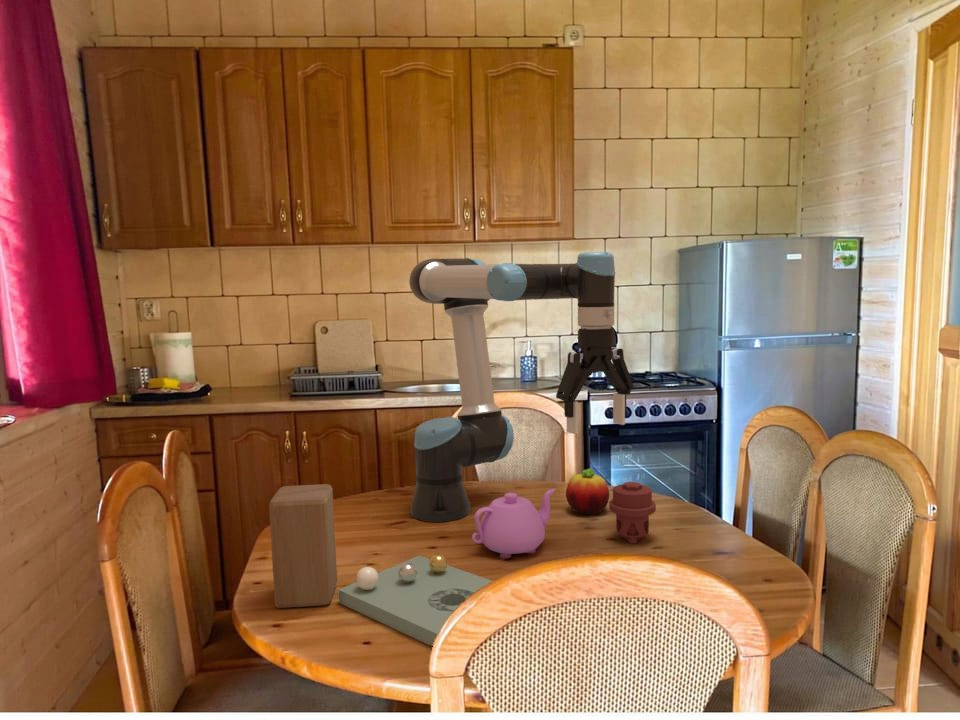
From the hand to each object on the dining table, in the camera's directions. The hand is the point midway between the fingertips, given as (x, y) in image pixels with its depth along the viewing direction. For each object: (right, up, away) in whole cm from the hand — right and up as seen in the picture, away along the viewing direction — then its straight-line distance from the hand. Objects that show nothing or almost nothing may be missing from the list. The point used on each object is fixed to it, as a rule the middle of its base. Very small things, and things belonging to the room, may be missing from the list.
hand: (596, 428), depth 142 cm
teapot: (-17, -27, +4) cm, 32 cm away
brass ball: (-32, -24, -14) cm, 43 cm away
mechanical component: (+9, -25, +7) cm, 28 cm away
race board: (-34, -29, -21) cm, 49 cm away
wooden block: (-57, -30, -17) cm, 66 cm away
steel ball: (-38, -25, -18) cm, 49 cm away
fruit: (+2, -24, +27) cm, 36 cm away
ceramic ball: (-45, -25, -21) cm, 55 cm away
